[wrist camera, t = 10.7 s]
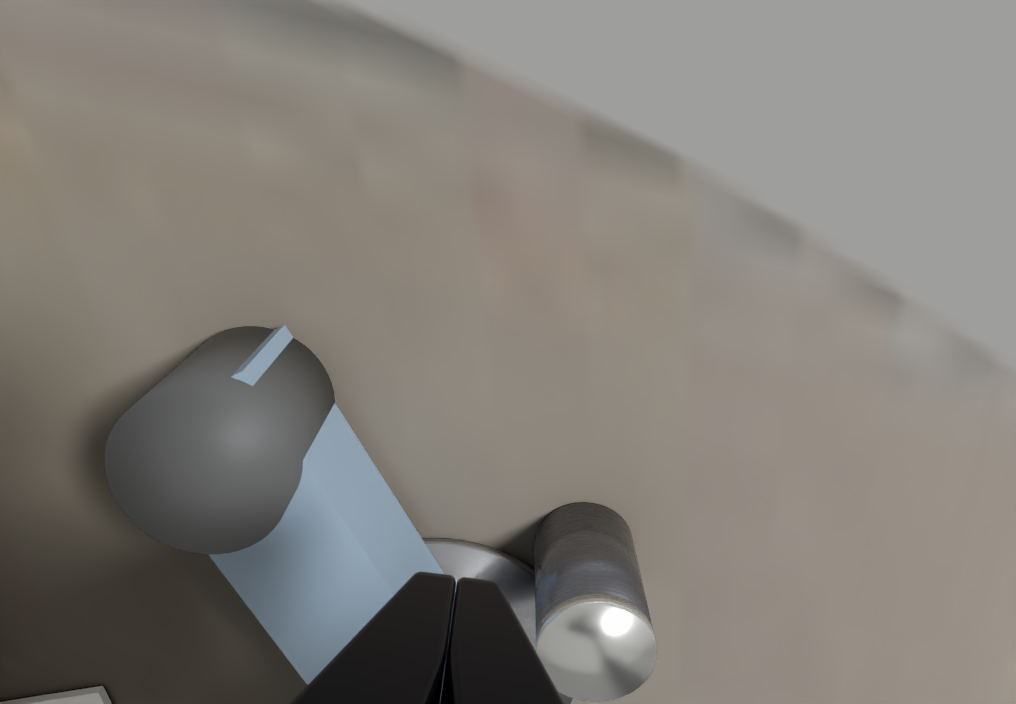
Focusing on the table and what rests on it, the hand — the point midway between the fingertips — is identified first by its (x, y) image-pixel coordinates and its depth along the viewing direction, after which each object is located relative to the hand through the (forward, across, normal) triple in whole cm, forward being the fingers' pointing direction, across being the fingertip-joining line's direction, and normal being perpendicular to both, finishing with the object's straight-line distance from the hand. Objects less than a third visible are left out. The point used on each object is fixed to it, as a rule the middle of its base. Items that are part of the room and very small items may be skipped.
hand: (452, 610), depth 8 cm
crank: (+7, +1, +5) cm, 9 cm away
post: (+7, -2, +4) cm, 8 cm away
